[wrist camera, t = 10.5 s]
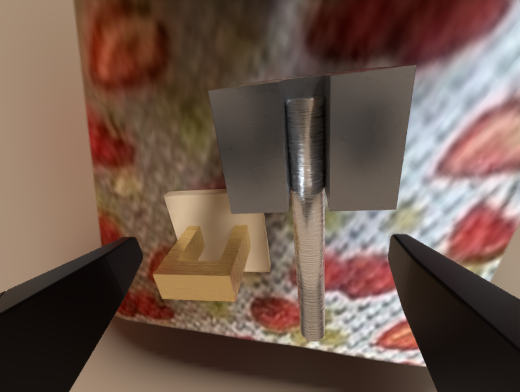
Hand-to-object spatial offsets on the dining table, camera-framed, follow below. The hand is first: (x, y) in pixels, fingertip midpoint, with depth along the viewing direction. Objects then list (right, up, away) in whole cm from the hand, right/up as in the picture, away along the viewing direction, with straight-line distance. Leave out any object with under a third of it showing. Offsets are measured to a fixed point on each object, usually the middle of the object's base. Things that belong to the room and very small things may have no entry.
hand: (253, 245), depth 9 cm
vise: (+4, +2, +13) cm, 14 cm away
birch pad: (-4, -2, +16) cm, 17 cm away
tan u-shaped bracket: (-4, -2, +15) cm, 16 cm away
